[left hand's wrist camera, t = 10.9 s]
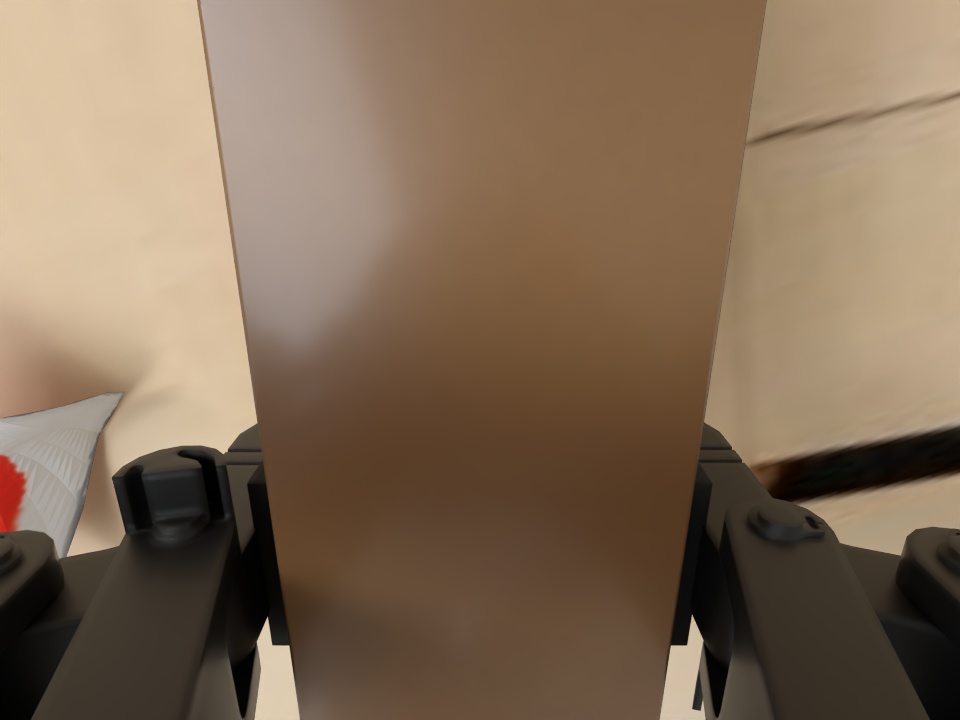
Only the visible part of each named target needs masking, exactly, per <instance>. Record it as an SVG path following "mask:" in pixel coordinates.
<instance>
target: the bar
mask: <svg viewBox="0 0 960 720" xmlns="http://www.w3.org/2000/svg"><path fill="white" fill-rule="evenodd" d="M766 1H767V0H197V3H198V10H199V17H200V24H201V31H202V38H203V45H204V52H205V59H206V66H207V73H208V80H209V87H210V94H211V101H212V108H213V115H214V122H215V129H216V136H217V143H218V150H219V157H220V164H221V171H222V178H223V185H224V192H225V199H226V206H227V213H228V220H229V227H230V234H231V241H232V248H233V254H234V261H235V268H236V275H237V282H238V289H239V296H240V303H241V310H242V317H243V324H244V331H245V338H246V345H247V352H248V359H249V366H250V373H251V380H252V387H253V394H254V401H255V408H256V415H257V422H258V429H259V436H260V443H261V450H262V457H263V464H264V471H265V478H266V485H267V492H268V499H269V506H270V513H271V520H272V527H273V534H274V541H275V548H276V555H277V562H278V569H279V576H280V583H281V590H282V597H283V604H284V611H285V618H286V625H287V632H288V639H289V646H290V653H291V660H292V667H293V674H294V681H295V687H296V694H297V701H298V708H299V715H300V720H660V714H661V707H662V700H663V693H664V687H665V680H666V673H667V666H668V660H669V653H670V646H671V640H672V633H673V626H674V619H675V613H676V606H677V599H678V592H679V586H680V579H681V572H682V566H683V559H684V552H685V545H686V539H687V532H688V525H689V519H690V512H691V505H692V498H693V492H694V485H695V478H696V471H697V465H698V458H699V451H700V445H701V438H702V431H703V424H704V418H705V411H706V404H707V397H708V391H709V384H710V377H711V371H712V364H713V357H714V350H715V344H716V337H717V330H718V324H719V317H720V310H721V303H722V297H723V290H724V283H725V276H726V270H727V263H728V256H729V250H730V243H731V236H732V229H733V223H734V216H735V209H736V202H737V196H738V189H739V182H740V176H741V169H742V162H743V155H744V149H745V142H746V135H747V129H748V122H749V115H750V108H751V102H752V95H753V88H754V81H755V75H756V68H757V61H758V55H759V48H760V41H761V34H762V28H763V21H764V14H765V7H766Z"/></svg>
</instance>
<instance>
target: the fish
mask: <svg viewBox="0 0 960 720" xmlns="http://www.w3.org/2000/svg"><path fill="white" fill-rule="evenodd" d="M123 394H124V392H116V393H105V394H101V395H98V396H94V397H91V398H87V399H84V400H81V401H78V402H75V403H72V404H68V405H65V406H62V407H57V408H52V409H47V410H42V411H37V412H33V413H27V414H21V415H16V416H10V417H4V418H0V533H2V532H11V531H21V530H32V531H39V532H45V533H46V534H47V535H48V536H50V537H51V538H52V539H53V540H54V543H55V546H56V550H57V553H58V556H59V559H60V558H65V557H66V556H67V553H68V550H69V547H70V545H71V542H72V539H73V536H74V533H75V530H76V528H77V525H78V522H79V519H80V516H81V514H82V511H83V506H84V502H85V497H86V492H87V487H88V482H89V477H90V473H91V468H92V464H93V459H94V455H95V451H96V446H97V442H98V437H99V434H100V432H101V431H102V429H103V427H104V426H105V424H106V423H107V421H108V420H109V418H110V417H111V415H112V413H113V411H114V410H115V408H116V406H117V404H118V403H119V401H120V400H121V398H122V397H123Z"/></svg>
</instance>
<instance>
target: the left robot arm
mask: <svg viewBox="0 0 960 720" xmlns="http://www.w3.org/2000/svg"><path fill="white" fill-rule="evenodd" d="M112 480H113V484H114V488H115V492H116V496H117V500H118V504H119V508H120V512H121V516H122V520H123V524H124V528H125V532H126V534H125V536H124V538H123V540H122V542H121V544H120V546H118V547H114V548H110V549H106V550H101V551H96V552H90V553H85V554H80V555H75V556H70V557H65V558H60V559H59V556H58V553H57V550H56V546H55V543H54V540H53V539H52V538H51V537H50V536H48V535H47V534H46V533H45V532H39V531H32V530H21V531H11V532H2V533H0V720H254V718H255V711H256V703H257V695H258V687H259V680H260V672H261V666H260V659H259V652H258V647H257V640H258V637H259V635H260V633H261V631H262V628H263V626H264V624H265V621H266V619H267V617H268V620H269V627H270V633H271V639H272V645H289V639H288V632H287V625H286V618H285V611H284V604H283V597H282V590H281V583H280V576H279V569H278V562H277V555H276V548H275V541H274V534H273V527H272V520H271V513H270V506H269V499H268V492H267V485H266V478H265V471H264V464H263V457H262V450H261V443H260V436H259V429H258V423H257V424H256V425H254V426H252V427H251V428H249V429H248V430H246V431H244V432H243V433H241V434H240V435H239V436H238V437H237V439H236V440H235V441H234V442H233V444H232V445H231V446H230V447H229V449H228V452H225V454H224V455H223V454H222V453H221V452H219V451H218V450H217V449H214V448H209V447H205V446H179V447H173V448H168V449H162V450H159V451H156V452H153V453H150V454H147V455H144V456H141V457H139V458H137V459H135V460H134V461H132V462H130V463H128V464H126V465H125V466H123V467H122V468H121V469H120V470H119V471H118V472H117V473H116V474H115V475H114V476H113V477H112ZM692 615H693V617H694V619H695V622H696V624H697V626H698V629H699V631H700V633H701V635H702V638H703V640H704V641H703V647H702V652H701V658H700V664H699V670H698V676H697V682H696V688H695V693H694V700H693V707H692V709H694V710H700V711H701V706H702V700H703V701H704V709H705V717H706V720H960V530H959V529H948V528H938V527H929V528H922V529H916V530H915V531H913V532H912V533H911V534H909V535H908V536H907V538H906V541H905V544H904V548H903V551H902V554H901V556H899V555H894V554H889V553H884V552H879V551H873V550H868V549H863V548H858V547H853V546H849V545H845V544H841V543H839V541H838V539H837V537H836V535H835V533H834V531H833V530H832V529H831V528H830V527H829V525H828V524H827V523H826V522H825V521H824V520H823V519H821V518H820V517H818V516H817V515H815V514H814V513H812V512H811V511H809V510H808V509H805V508H803V507H800V506H798V505H795V504H793V503H791V502H788V501H783V500H778V499H774V498H772V497H771V496H770V494H769V493H768V492H767V490H766V489H765V488H764V487H763V485H762V484H761V483H760V482H759V480H758V479H757V478H756V477H755V475H754V474H753V473H752V472H751V470H750V469H749V468H748V467H747V465H746V464H745V463H742V459H741V458H740V457H739V455H738V454H737V453H736V452H735V450H732V447H731V445H730V444H729V443H728V442H727V440H726V439H725V438H724V437H723V435H722V434H721V433H720V432H719V431H717V430H716V429H714V428H712V427H711V426H709V425H707V424H706V423H704V424H703V431H702V438H701V445H700V451H699V458H698V465H697V471H696V478H695V485H694V492H693V498H692V505H691V512H690V519H689V525H688V532H687V539H686V545H685V552H684V559H683V566H682V572H681V579H680V586H679V592H678V599H677V606H676V613H675V619H674V626H673V633H672V640H671V645H687V642H688V636H689V630H690V623H691V617H692Z"/></svg>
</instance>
